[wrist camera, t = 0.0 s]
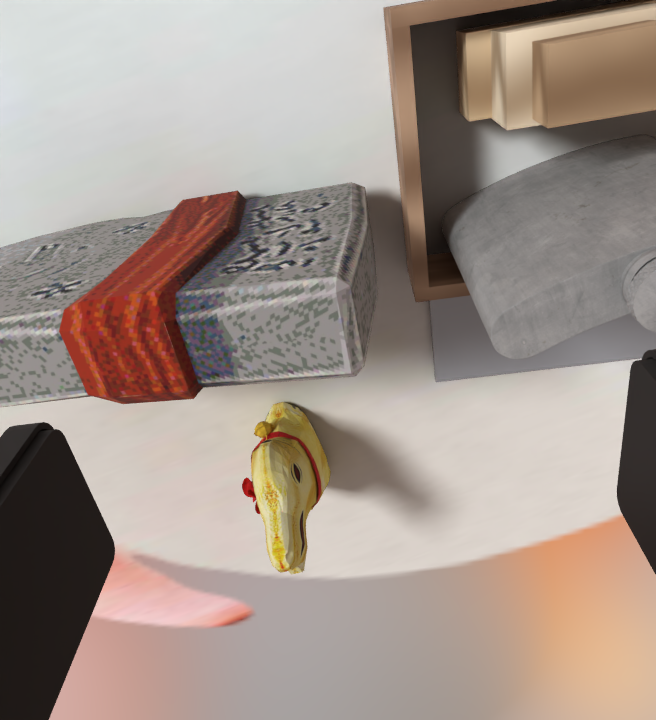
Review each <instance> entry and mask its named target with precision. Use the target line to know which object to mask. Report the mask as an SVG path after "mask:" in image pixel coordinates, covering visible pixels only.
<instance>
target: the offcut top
mask: <svg viewBox="0 0 656 720" xmlns="http://www.w3.org/2000/svg"><path fill="white" fill-rule="evenodd" d="M653 110H656V20H645V21H640V22H634V23H629V24H623V25H618V26H613V27H607V28H602V29H596V30H591V31H586V32H580V33H575V34H570V35H564V36H559V37H553V38H548V39H543V40H537V41H532V119H533V120H534V121H536V122H538V123H540V124H541V125H543V126H545V127H546V128H553V127H559V126H565V125H571V124H577V123H583V122H588V121H594V120H600V119H606V118H612V117H618V116H623V115H629V114H635V113H641V112H647V111H653Z"/></svg>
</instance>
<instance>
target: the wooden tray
mask: <svg viewBox="0 0 656 720" xmlns="http://www.w3.org/2000/svg"><path fill="white" fill-rule="evenodd" d="M549 1H555V0H424V1H418V2H413V3H407V4H401V5H396V6H390V7H384V19H385V30H386V41H387V51H388V62H389V73H390V84H391V95H392V105H393V116H394V127H395V138H396V149H397V160H398V170H399V181H400V192H401V203H402V214H403V225H404V235H405V246H406V257H407V268H408V273H409V277H410V281H411V285H412V289H413V293H414V297H415V301H416V302H423V301H431V300H438V299H446V298H454V297H461V296H469V295H470V293H469V290H468V288H467V286H466V284H465V281H464V279H463V277H462V275H461V272H460V270H459V268H458V266H457V263H456V261H455V259H454V257H453V255H452V252H447V253H440V254H432V255H427V251H426V238H425V224H424V211H423V198H422V184H421V171H420V157H419V144H418V130H417V117H416V104H415V90H414V77H413V63H412V50H411V36H410V25H416V24H422V23H427V22H433V21H439V20H445V19H451V18H456V17H462V16H468V15H474V14H480V13H485V12H491V11H497V10H503V9H509V8H514V7H520V6H526V5H532V4H538V3H543V2H549Z"/></svg>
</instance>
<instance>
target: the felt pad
mask: <svg viewBox="0 0 656 720" xmlns="http://www.w3.org/2000/svg"><path fill="white" fill-rule="evenodd" d="M429 302H430V316H431V329H432V342H433V356H434V369H435V380H436V382H442V381H450V380H459V379H467V378H476V377H484V376H493V375H501V374H510V373H518V372H527V371H536V370H544V369H553V368H561V367H570V366H578V365H587V364H595V363H604V362H612V361H621V360H629V359H638V358H642V357H643V355H644V353H645V352H646V351H648V350H653V349H656V332H652V331H651V330H648V329H646V328H645V327H644V326H641V324H640V322H638V321H636V319H635V317H633V316H632V314H631V313H630V314H628V315H625V316H622V317H619V318H617V319H614V320H611V321H609V322H606V323H604V324H601V325H599V326H596V327H594V328H592V329H589V330H587V331H585V332H582V333H580V334H578V335H575V336H573V337H571V338H569V339H567V340H565V341H563V342H561V343H558V344H556V345H554V346H552V347H550V348H548V349H547V350H545V351H543V352H541V353H539V354H537V355H535V356H532V357H530V358H526V359H510V358H507V357H505V356H503V355H501V354H500V353H498V352H497V351H496V349H495V348H494V346H493V344H492V342H491V340H490V338H489V335H488V333H487V331H486V329H485V326H484V324H483V322H482V320H481V317H480V315H479V313H478V311H477V308H476V306H475V304H474V302H473V299H472V297H471V295H469V296H461V297H454V298H446V299H438V300H431V301H429Z"/></svg>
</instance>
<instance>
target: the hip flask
mask: <svg viewBox="0 0 656 720" xmlns="http://www.w3.org/2000/svg"><path fill="white" fill-rule="evenodd" d="M442 232H443V234H444V237H445V239H446V241H447V243H448V246H449V248H450V250H451V252H452V255H453V257H454V259H455V261H456V263H457V266H458V268H459V270H460V272H461V275H462V277H463V279H464V281H465V284H466V286H467V288H468V290H469V293H470V295H471V297H472V299H473V302H474V304H475V306H476V308H477V311H478V313H479V315H480V317H481V320H482V322H483V324H484V326H485V329H486V331H487V333H488V335H489V338H490V340H491V342H492V344H493V346H494V348H495V349H496V351H497V352H498V353H500V354H501V355H503V356H505V357H507V358H510V359H526V358H530V357H532V356H535V355H537V354H539V353H541V352H543V351H545V350H547V349H548V348H550V347H552V346H554V345H556V344H558V343H561V342H563V341H565V340H567V339H569V338H571V337H573V336H575V335H578V334H580V333H582V332H585V331H587V330H589V329H592V328H594V327H596V326H599V325H601V324H604V323H606V322H609V321H611V320H614V319H617V318H619V317H622V316H625V315H628V314H630V313H631V314H632V316H633V317H635V319H636V321H638V322H640V324H641V326H644V327H645V328H646V329H648V330H651V331H652V332H656V139H655V138H653V137H651V136H648V135H638V136H633V137H627V138H622V139H617V140H613V141H608V142H604V143H600V144H597V145H593V146H589V147H586V148H582V149H579V150H576V151H572V152H570V153H567V154H564V155H561V156H558V157H555V158H552V159H550V160H547V161H544V162H542V163H539V164H537V165H534V166H532V167H529V168H527V169H524V170H522V171H520V172H517V173H515V174H513V175H510V176H508V177H506V178H504V179H502V180H500V181H498V182H496V183H494V184H492V185H490V186H488V187H486V188H484V189H482V190H480V191H479V192H477V193H475V194H473V195H472V196H470V197H468V198H466V199H465V200H463V201H461V202H460V203H458V204H457V205H455V206H453V207H452V208H451V209H449V210H448V211H447V212H446V214H445V216H444V217H443V220H442Z"/></svg>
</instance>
